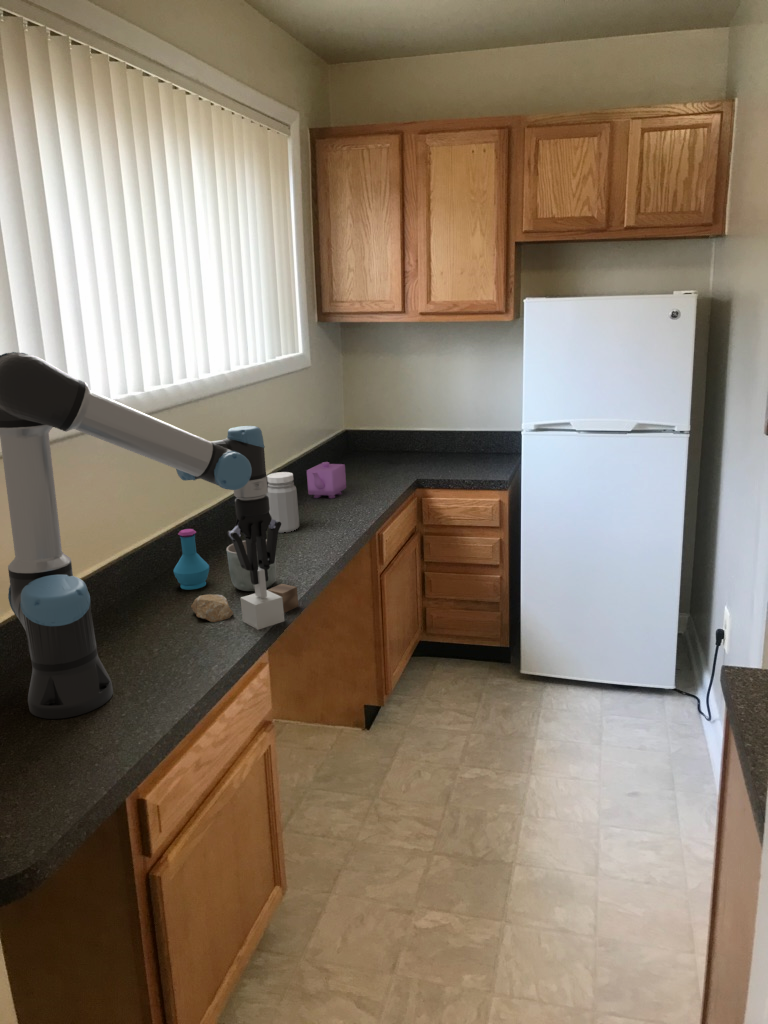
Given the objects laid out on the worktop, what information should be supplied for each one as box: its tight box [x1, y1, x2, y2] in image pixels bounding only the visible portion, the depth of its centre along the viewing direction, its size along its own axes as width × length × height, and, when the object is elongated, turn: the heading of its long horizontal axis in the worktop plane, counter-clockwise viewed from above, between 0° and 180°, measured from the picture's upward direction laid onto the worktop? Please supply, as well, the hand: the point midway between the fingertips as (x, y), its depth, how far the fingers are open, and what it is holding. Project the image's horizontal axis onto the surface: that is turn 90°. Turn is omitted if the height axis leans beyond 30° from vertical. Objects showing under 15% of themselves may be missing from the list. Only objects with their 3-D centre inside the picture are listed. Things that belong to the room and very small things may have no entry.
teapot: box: [306, 461, 347, 499], centre depth 310 cm, size 20×10×12 cm, turn 159°
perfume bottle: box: [173, 528, 210, 591], centre depth 220 cm, size 9×9×15 cm
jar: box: [266, 471, 300, 534], centre depth 268 cm, size 10×10×18 cm
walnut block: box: [267, 583, 299, 614], centre depth 201 cm, size 5×5×5 cm
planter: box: [226, 539, 277, 592], centre depth 217 cm, size 12×12×11 cm
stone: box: [190, 593, 234, 623], centre depth 200 cm, size 8×10×4 cm
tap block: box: [239, 589, 285, 630], centre depth 194 cm, size 7×7×6 cm
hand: (261, 595), depth 193 cm, fingers closed
